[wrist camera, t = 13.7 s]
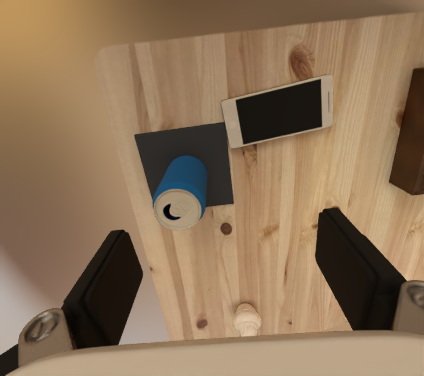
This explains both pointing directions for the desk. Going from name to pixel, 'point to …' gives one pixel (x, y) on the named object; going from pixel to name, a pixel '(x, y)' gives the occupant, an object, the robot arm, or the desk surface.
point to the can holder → (411, 141)
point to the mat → (189, 146)
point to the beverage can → (181, 194)
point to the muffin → (246, 320)
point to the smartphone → (279, 111)
